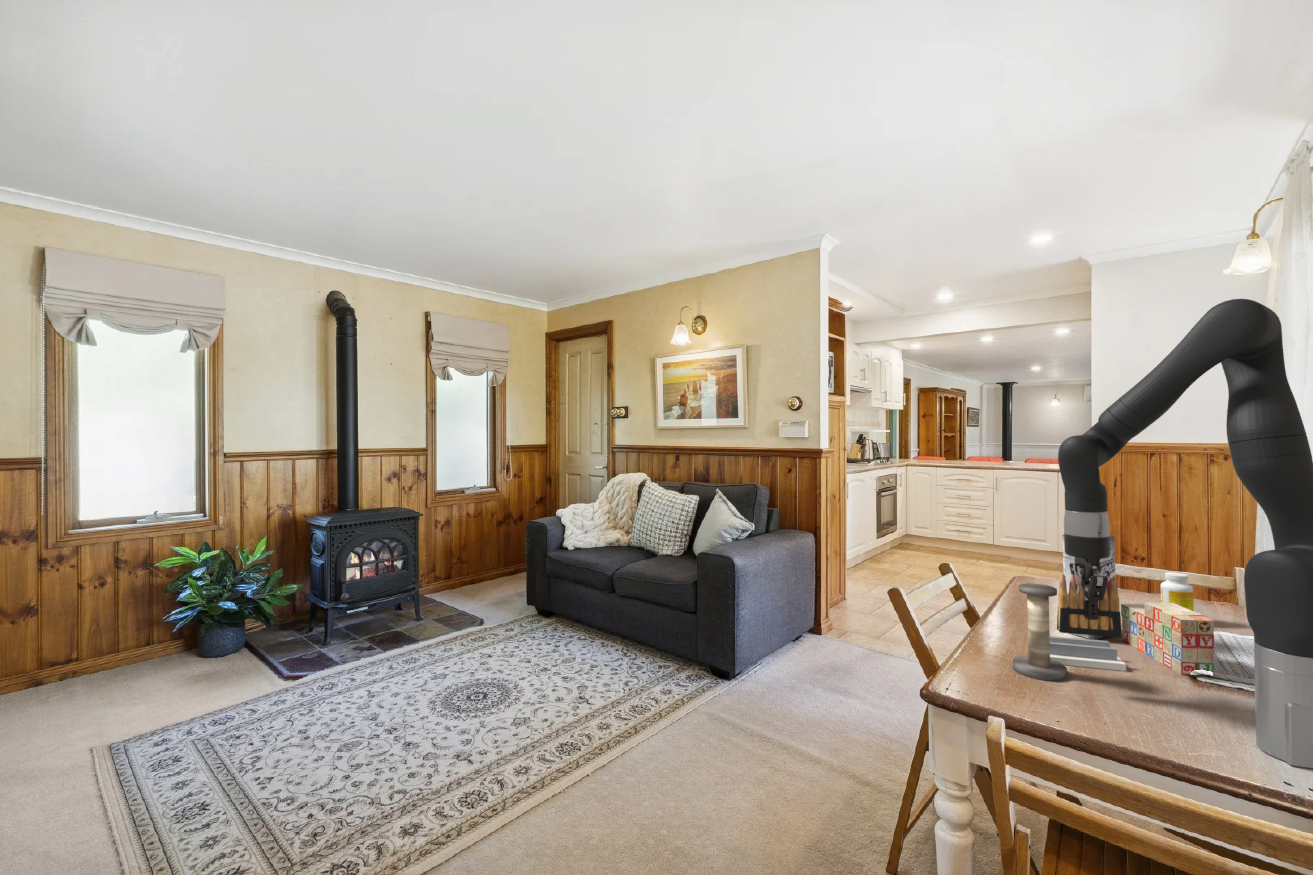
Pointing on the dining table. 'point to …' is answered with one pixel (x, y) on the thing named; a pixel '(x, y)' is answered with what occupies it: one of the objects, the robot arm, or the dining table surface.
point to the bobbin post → (1039, 637)
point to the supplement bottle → (1177, 590)
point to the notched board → (1085, 653)
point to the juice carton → (1108, 571)
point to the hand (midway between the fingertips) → (1088, 616)
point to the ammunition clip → (1073, 611)
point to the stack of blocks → (1170, 635)
